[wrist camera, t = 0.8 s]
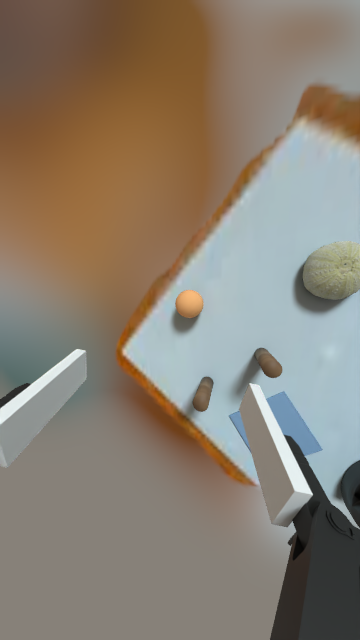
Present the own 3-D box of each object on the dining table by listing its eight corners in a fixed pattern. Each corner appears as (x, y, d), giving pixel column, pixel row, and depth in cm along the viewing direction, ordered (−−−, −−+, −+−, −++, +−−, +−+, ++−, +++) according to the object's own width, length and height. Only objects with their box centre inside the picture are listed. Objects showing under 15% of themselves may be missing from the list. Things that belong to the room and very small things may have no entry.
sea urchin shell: (291, 293, 31) (322, 251, 24) (294, 270, 35) (321, 229, 29) (350, 312, 28) (401, 271, 22) (345, 284, 33) (386, 244, 27)
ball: (210, 308, 36) (206, 307, 31) (188, 322, 38) (181, 324, 33) (196, 286, 37) (190, 282, 32) (175, 301, 39) (166, 299, 33)
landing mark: (322, 449, 32) (322, 449, 32) (261, 468, 35) (262, 469, 35) (283, 391, 33) (284, 391, 33) (229, 415, 36) (229, 415, 36)
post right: (271, 357, 34) (286, 372, 25) (259, 363, 34) (269, 380, 26) (264, 345, 34) (275, 357, 25) (252, 351, 35) (259, 365, 26)
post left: (215, 385, 37) (211, 407, 28) (205, 390, 38) (198, 414, 29) (209, 374, 37) (202, 393, 29) (199, 379, 38) (189, 400, 29)
